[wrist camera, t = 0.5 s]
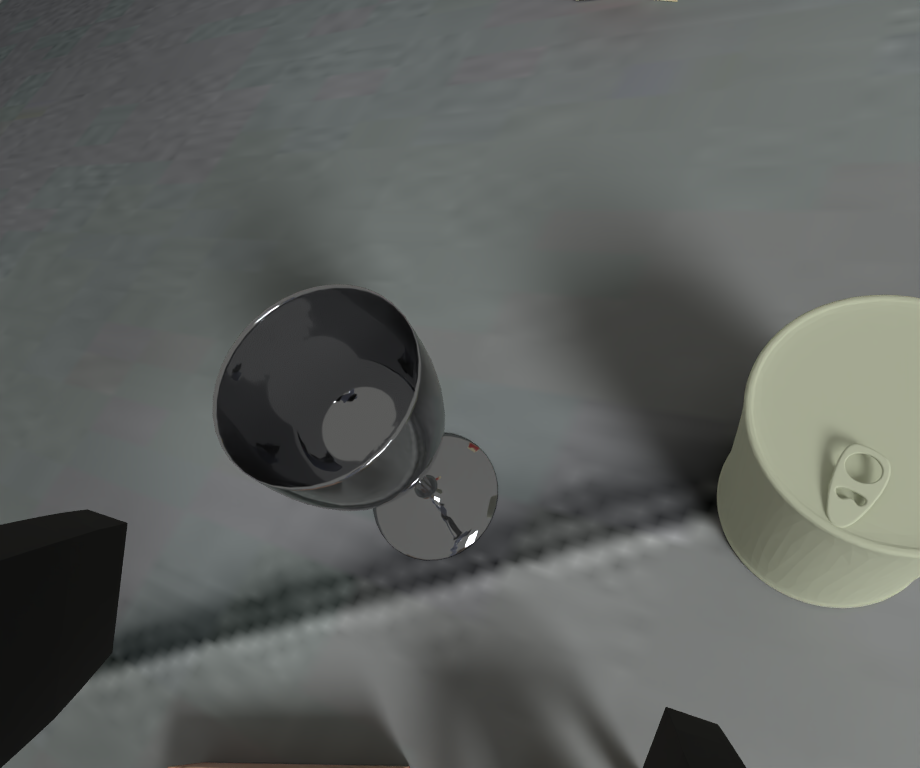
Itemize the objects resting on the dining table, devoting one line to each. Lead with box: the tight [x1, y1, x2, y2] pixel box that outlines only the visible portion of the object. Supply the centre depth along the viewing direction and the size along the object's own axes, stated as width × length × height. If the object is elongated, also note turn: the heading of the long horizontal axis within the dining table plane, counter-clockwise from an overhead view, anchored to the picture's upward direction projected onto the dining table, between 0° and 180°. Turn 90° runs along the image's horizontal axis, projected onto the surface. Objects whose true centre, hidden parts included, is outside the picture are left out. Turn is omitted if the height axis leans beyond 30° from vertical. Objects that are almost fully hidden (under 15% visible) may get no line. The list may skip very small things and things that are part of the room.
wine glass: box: [213, 284, 498, 561], centre depth 31 cm, size 8×8×15 cm
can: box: [717, 295, 920, 608], centre depth 27 cm, size 9×9×12 cm
